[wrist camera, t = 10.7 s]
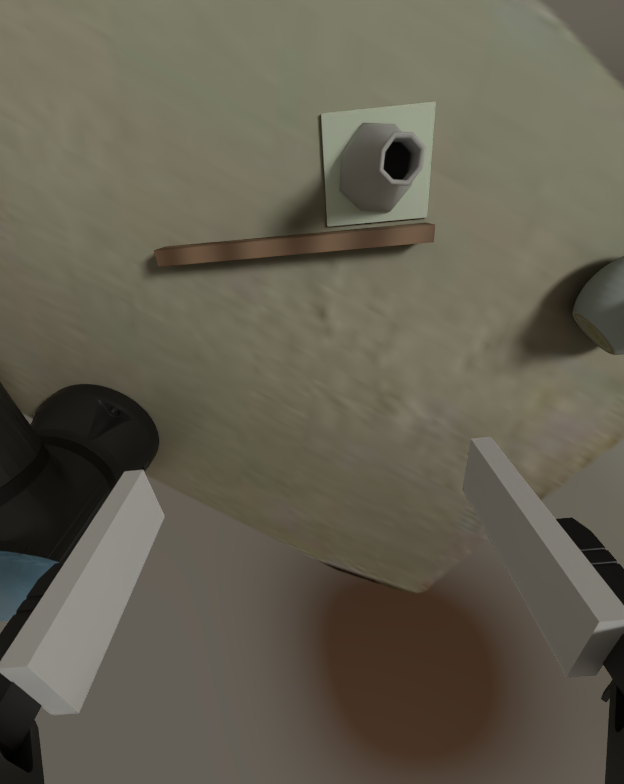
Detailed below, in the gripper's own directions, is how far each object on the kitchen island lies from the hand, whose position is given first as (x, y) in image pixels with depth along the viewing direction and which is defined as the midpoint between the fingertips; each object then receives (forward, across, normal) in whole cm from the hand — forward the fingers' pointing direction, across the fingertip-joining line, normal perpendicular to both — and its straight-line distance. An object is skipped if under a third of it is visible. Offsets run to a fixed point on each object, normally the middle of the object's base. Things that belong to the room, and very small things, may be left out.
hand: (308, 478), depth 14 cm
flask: (+28, +8, +12) cm, 31 cm away
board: (+28, +8, +12) cm, 31 cm away
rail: (+28, 0, +6) cm, 29 cm away
